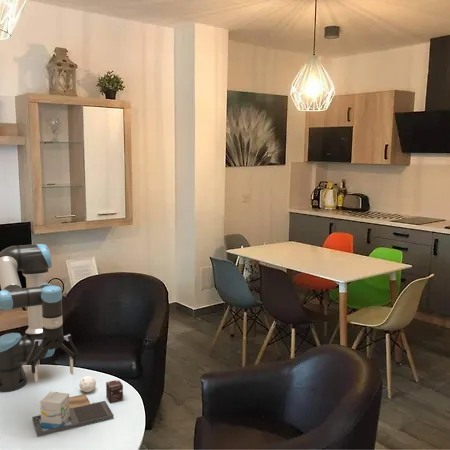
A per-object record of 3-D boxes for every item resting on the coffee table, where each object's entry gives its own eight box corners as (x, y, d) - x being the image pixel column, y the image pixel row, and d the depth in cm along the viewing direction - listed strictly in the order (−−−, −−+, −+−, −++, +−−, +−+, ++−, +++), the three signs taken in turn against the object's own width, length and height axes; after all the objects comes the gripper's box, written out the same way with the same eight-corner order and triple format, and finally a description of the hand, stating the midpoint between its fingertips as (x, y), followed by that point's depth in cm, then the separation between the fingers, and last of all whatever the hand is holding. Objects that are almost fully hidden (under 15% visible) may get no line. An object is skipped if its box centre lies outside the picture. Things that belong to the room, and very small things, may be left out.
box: (109, 403, 221) (109, 387, 220) (106, 397, 226) (105, 382, 225) (123, 400, 224) (123, 385, 222) (119, 394, 229) (119, 379, 228)
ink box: (60, 430, 199) (59, 403, 197) (40, 428, 201) (39, 401, 199) (70, 419, 208) (69, 392, 206) (51, 416, 209) (50, 390, 207)
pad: (62, 400, 222) (62, 398, 222) (85, 395, 226) (85, 393, 226) (67, 411, 213) (67, 409, 213) (90, 406, 218) (90, 404, 218)
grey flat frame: (37, 436, 195) (37, 433, 194) (32, 420, 206) (32, 416, 206) (113, 418, 209) (113, 414, 209) (105, 403, 220) (105, 400, 220)
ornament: (97, 393, 229) (88, 383, 224) (83, 396, 231) (74, 387, 226) (100, 379, 235) (91, 370, 230) (86, 383, 236) (77, 374, 231)
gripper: (19, 334, 188) (21, 387, 191) (87, 324, 200) (88, 374, 203) (17, 327, 194) (19, 379, 198) (82, 318, 206) (83, 367, 210)
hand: (54, 376), depth 201 cm, fingers open, 13 cm apart
